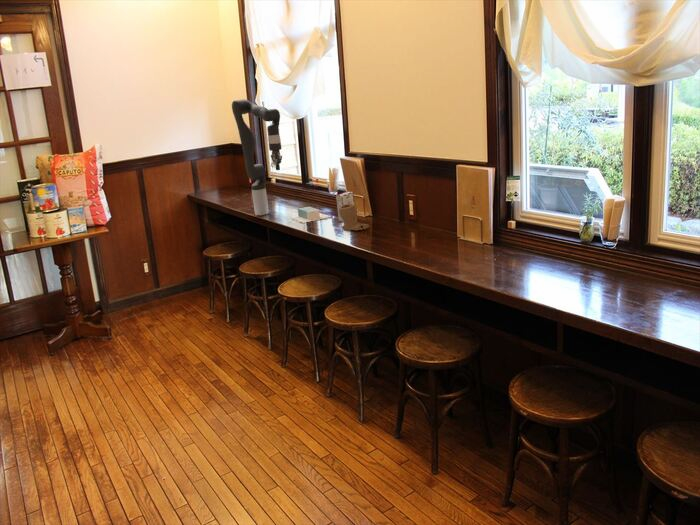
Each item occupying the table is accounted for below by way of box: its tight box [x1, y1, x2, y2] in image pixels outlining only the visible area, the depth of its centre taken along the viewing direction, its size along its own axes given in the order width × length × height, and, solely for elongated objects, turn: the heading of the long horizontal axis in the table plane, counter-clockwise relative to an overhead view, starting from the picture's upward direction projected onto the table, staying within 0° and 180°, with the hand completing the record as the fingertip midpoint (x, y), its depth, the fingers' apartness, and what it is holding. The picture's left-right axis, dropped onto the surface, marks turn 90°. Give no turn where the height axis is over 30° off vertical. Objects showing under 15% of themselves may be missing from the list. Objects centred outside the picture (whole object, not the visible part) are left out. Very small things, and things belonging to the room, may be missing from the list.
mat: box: [290, 212, 332, 224], centre depth 392 cm, size 17×20×1 cm
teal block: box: [297, 206, 320, 220], centre depth 393 cm, size 5×8×14 cm
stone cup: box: [339, 203, 370, 231], centre depth 352 cm, size 15×12×15 cm
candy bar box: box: [335, 191, 355, 223], centre depth 377 cm, size 11×5×16 cm, turn 143°
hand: (277, 170), depth 390 cm, fingers closed
